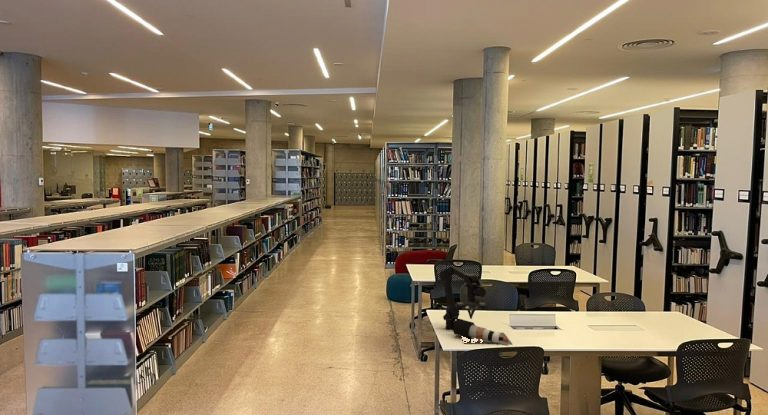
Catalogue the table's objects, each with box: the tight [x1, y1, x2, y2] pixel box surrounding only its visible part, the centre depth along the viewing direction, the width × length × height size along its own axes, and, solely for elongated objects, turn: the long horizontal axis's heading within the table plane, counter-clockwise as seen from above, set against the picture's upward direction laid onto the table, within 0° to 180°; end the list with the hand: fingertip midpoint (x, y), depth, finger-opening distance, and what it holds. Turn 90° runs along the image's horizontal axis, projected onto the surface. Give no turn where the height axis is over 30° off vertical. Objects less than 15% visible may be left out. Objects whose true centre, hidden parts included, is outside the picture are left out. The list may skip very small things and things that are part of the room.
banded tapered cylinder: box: [452, 318, 509, 343], centre depth 335 cm, size 10×34×10 cm, turn 57°
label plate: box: [463, 331, 513, 346], centre depth 340 cm, size 30×26×1 cm
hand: (470, 318), depth 345 cm, fingers closed
